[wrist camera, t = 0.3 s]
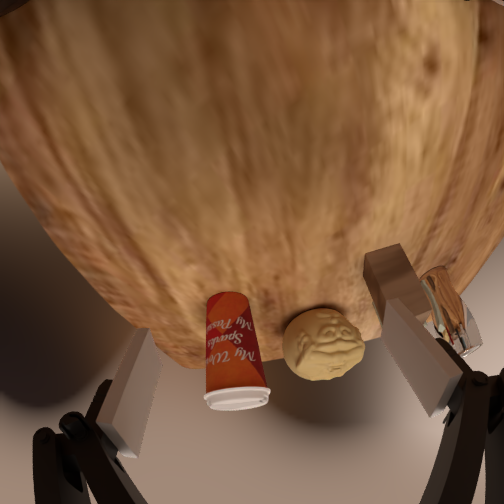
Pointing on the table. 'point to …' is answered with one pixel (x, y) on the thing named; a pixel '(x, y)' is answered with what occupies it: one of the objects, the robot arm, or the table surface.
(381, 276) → the walnut block
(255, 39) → the table surface
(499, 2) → the coffee press
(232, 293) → the paper cup
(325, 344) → the sculpture
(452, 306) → the beer glass
